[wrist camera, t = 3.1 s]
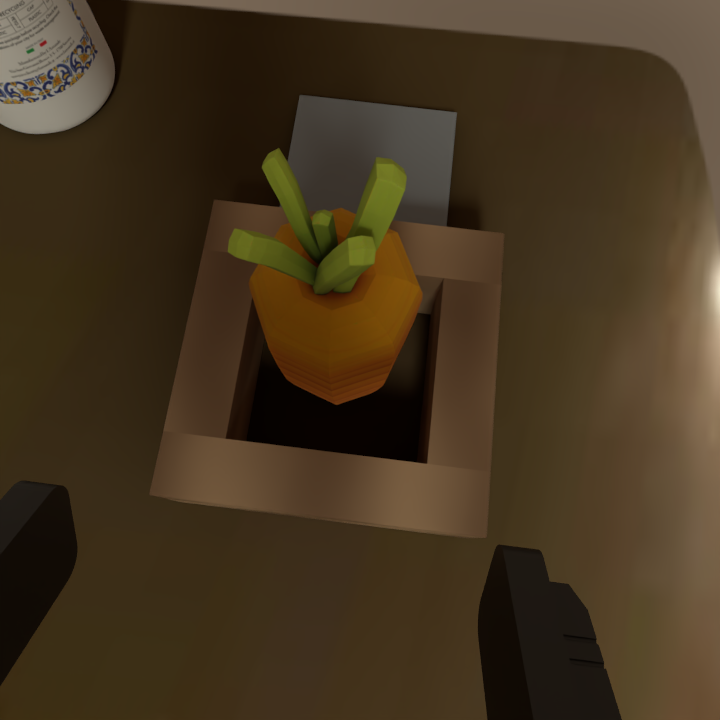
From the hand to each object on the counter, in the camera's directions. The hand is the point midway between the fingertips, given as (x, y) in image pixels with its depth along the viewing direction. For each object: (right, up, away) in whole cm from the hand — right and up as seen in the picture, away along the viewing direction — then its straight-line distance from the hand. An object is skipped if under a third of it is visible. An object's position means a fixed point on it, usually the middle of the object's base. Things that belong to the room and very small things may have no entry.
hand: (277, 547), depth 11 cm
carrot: (+1, +3, +16) cm, 16 cm away
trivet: (+2, +13, +18) cm, 22 cm away
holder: (+1, +3, +15) cm, 16 cm away
